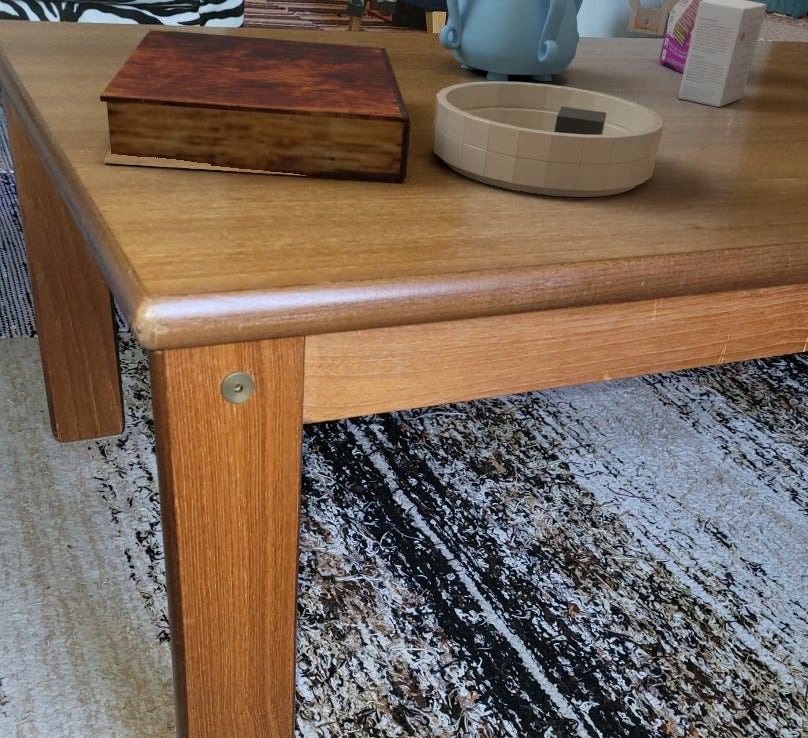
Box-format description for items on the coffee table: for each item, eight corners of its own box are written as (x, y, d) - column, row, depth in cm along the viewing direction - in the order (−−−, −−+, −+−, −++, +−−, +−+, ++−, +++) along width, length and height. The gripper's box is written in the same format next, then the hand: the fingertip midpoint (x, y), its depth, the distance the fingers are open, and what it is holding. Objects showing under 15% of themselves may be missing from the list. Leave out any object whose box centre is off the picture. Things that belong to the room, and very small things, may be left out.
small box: (700, 90, 124) (723, -5, 118) (743, 99, 121) (768, 3, 115) (675, 98, 118) (698, -1, 112) (719, 108, 116) (745, 7, 110)
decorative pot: (588, 75, 126) (610, -48, 118) (547, 94, 114) (569, -42, 106) (471, 54, 131) (485, -65, 123) (420, 70, 119) (431, -61, 111)
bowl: (652, 155, 95) (664, 100, 92) (647, 214, 79) (661, 149, 76) (453, 126, 97) (459, 72, 95) (410, 178, 82) (415, 114, 79)
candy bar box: (655, 63, 137) (684, -75, 128) (687, 64, 139) (718, -72, 129) (696, 81, 129) (731, -66, 119) (729, 82, 130) (766, -63, 121)
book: (406, 183, 81) (411, 118, 78) (103, 163, 78) (97, 96, 75) (383, 99, 104) (386, 48, 102) (151, 83, 102) (148, 29, 99)
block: (597, 159, 89) (606, 112, 86) (594, 170, 86) (604, 122, 83) (553, 153, 89) (561, 106, 87) (548, 164, 86) (556, 115, 84)
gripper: (545, -193, 71) (514, 20, 79) (835, -160, 69) (773, 56, 77) (554, -189, 76) (524, 10, 85) (824, -159, 74) (767, 44, 82)
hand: (645, 32), depth 81 cm, fingers closed
